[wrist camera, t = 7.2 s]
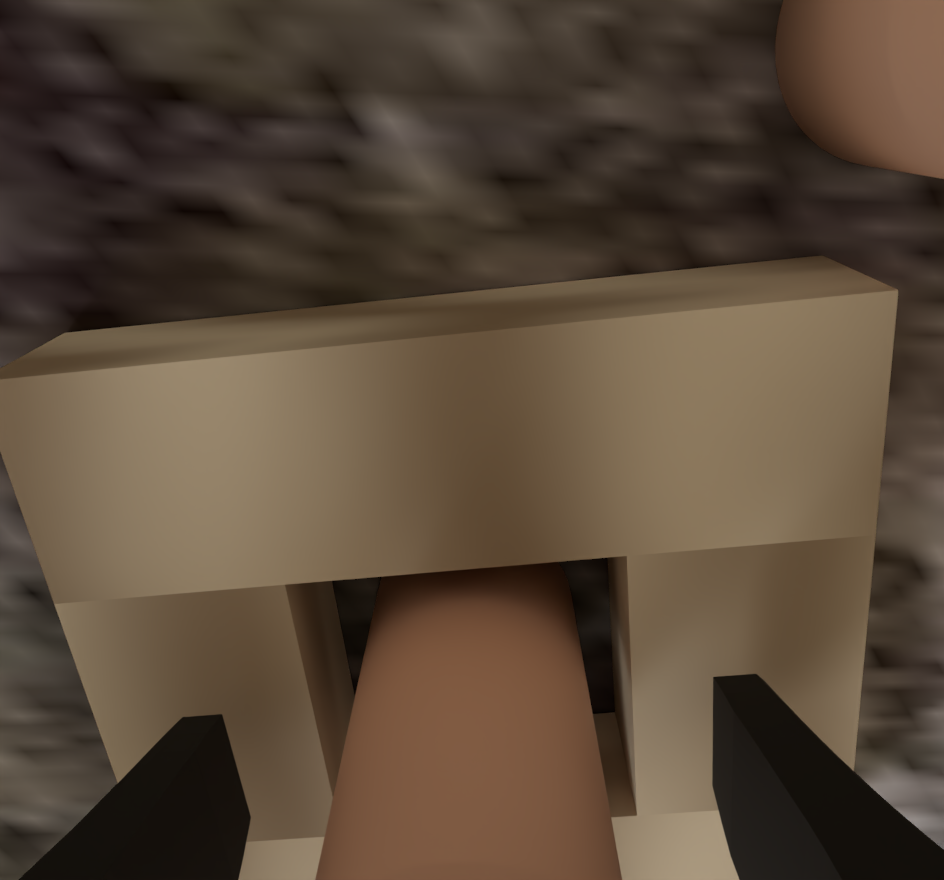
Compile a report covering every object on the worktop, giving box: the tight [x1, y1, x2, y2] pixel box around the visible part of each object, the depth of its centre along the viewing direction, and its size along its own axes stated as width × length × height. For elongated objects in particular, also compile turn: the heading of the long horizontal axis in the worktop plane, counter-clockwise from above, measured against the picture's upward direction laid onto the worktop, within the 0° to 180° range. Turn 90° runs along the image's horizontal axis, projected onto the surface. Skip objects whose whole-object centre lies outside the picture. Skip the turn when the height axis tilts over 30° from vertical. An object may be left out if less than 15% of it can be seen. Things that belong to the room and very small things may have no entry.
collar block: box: [0, 255, 898, 880], centre depth 14 cm, size 12×12×2 cm
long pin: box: [315, 562, 622, 880], centre depth 12 cm, size 4×4×7 cm
